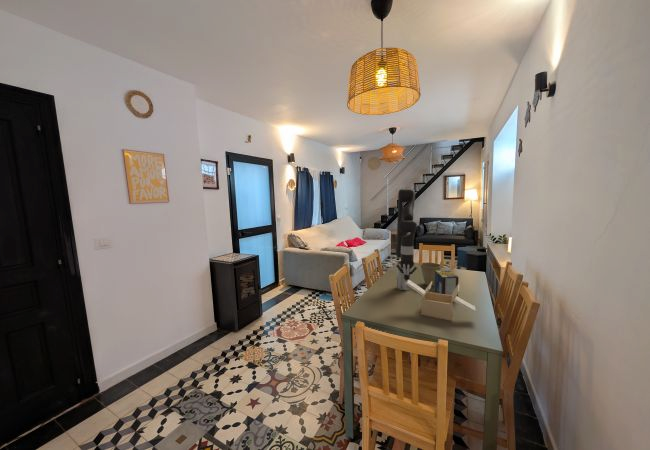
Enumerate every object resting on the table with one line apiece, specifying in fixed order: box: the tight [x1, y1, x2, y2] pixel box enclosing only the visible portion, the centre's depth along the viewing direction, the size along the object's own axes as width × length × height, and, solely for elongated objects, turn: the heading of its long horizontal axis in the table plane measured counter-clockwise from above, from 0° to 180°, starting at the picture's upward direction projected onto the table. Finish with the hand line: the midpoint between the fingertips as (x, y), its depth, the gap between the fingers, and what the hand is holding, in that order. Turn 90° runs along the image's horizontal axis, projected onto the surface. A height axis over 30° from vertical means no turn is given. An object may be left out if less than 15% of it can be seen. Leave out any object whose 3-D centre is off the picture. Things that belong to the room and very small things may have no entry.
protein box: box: [434, 270, 460, 297], centre depth 177 cm, size 10×15×16 cm
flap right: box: [452, 283, 476, 313], centre depth 142 cm, size 8×14×13 cm
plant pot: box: [420, 262, 442, 287], centre depth 198 cm, size 15×15×16 cm
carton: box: [421, 291, 454, 322], centre depth 150 cm, size 16×14×10 cm
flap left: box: [405, 279, 432, 298], centre depth 154 cm, size 8×14×13 cm
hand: (406, 280), depth 157 cm, fingers closed
